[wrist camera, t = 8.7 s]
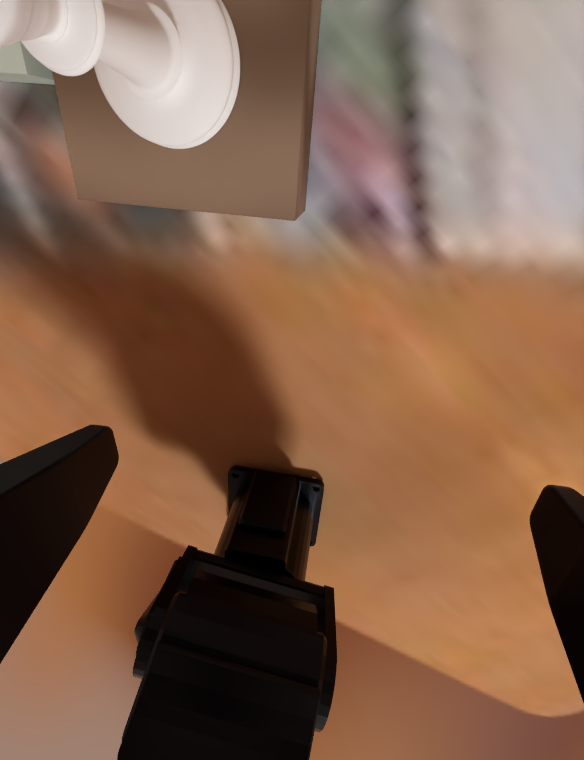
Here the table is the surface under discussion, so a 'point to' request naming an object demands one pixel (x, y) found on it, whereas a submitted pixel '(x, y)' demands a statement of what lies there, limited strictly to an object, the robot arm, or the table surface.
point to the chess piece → (139, 58)
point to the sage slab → (22, 66)
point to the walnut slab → (229, 145)
